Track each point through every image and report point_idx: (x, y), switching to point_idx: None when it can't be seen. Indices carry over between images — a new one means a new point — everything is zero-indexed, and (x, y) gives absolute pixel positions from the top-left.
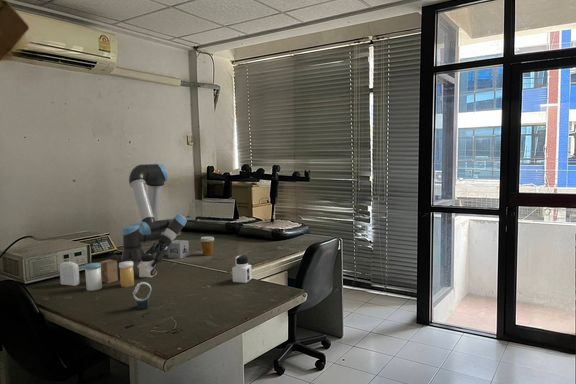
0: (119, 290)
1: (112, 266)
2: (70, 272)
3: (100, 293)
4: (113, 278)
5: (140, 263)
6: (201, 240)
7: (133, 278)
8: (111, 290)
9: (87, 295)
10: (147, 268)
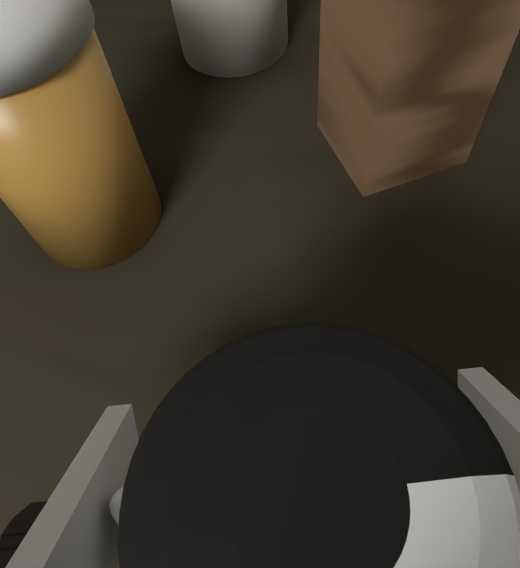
0: None
1: (354, 7)
2: None
3: None
4: (343, 139)
5: (500, 421)
6: None
7: (18, 216)
8: None
9: (107, 8)
10: (95, 430)
